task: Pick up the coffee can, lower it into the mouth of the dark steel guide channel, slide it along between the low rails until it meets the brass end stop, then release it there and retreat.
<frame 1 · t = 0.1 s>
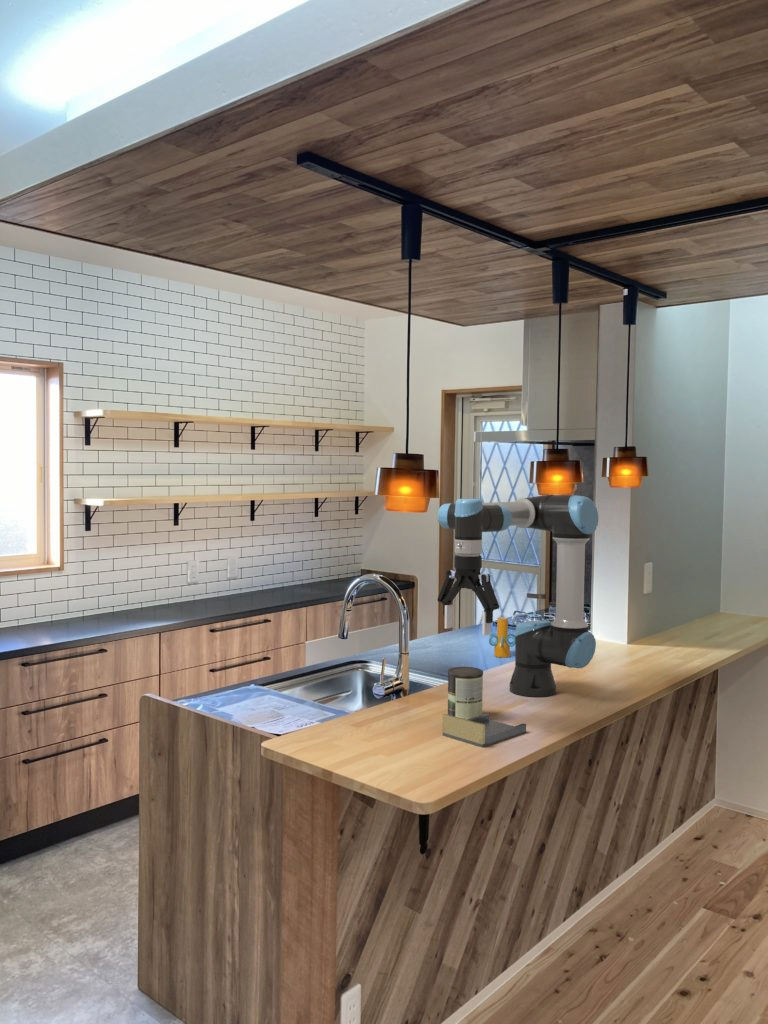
hand: (467, 631, 236), 28 cm above the countertop, fingers open, 13 cm apart
rail channel: (484, 733, 235), on the countertop
coffee can: (464, 718, 250), on the countertop
orange column with rings: (502, 656, 335), on the countertop
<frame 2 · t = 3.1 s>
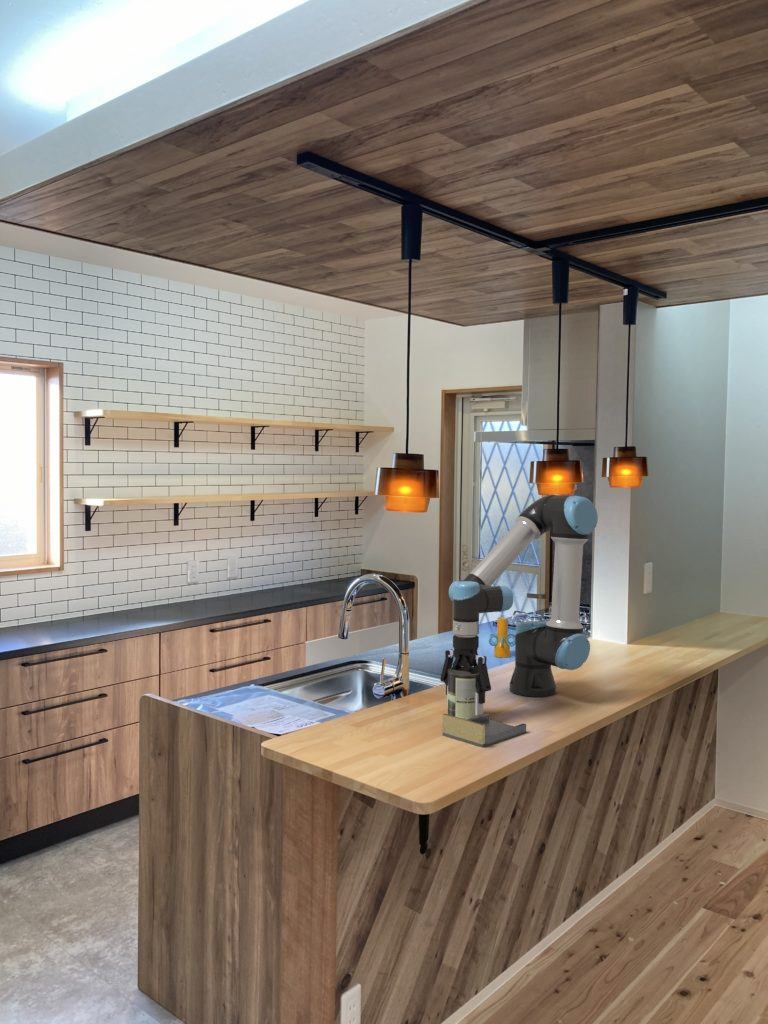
hand: (464, 710, 250), 2 cm above the countertop, fingers closed on coffee can, 10 cm apart
coffee can: (464, 718, 250), on the countertop, touching gripper
everything else where it was.
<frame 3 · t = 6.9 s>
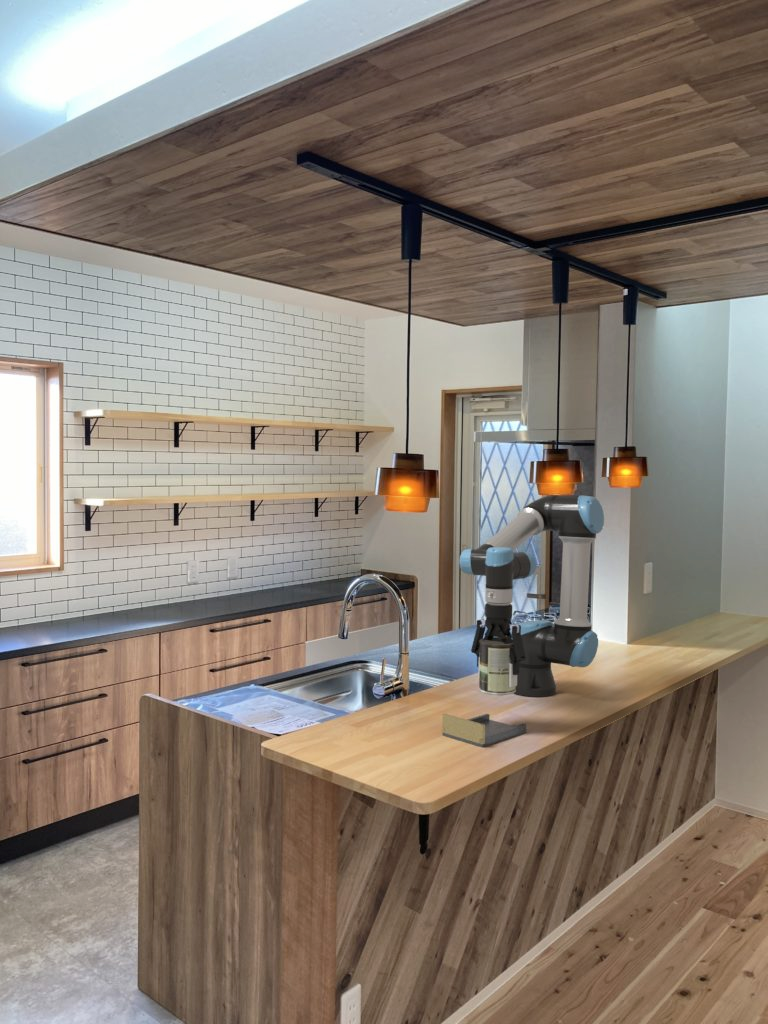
hand: (497, 682, 238), 13 cm above the countertop, fingers closed on coffee can, 10 cm apart
coffee can: (497, 691, 238), point 11 cm above the countertop, touching gripper
everything else where it was.
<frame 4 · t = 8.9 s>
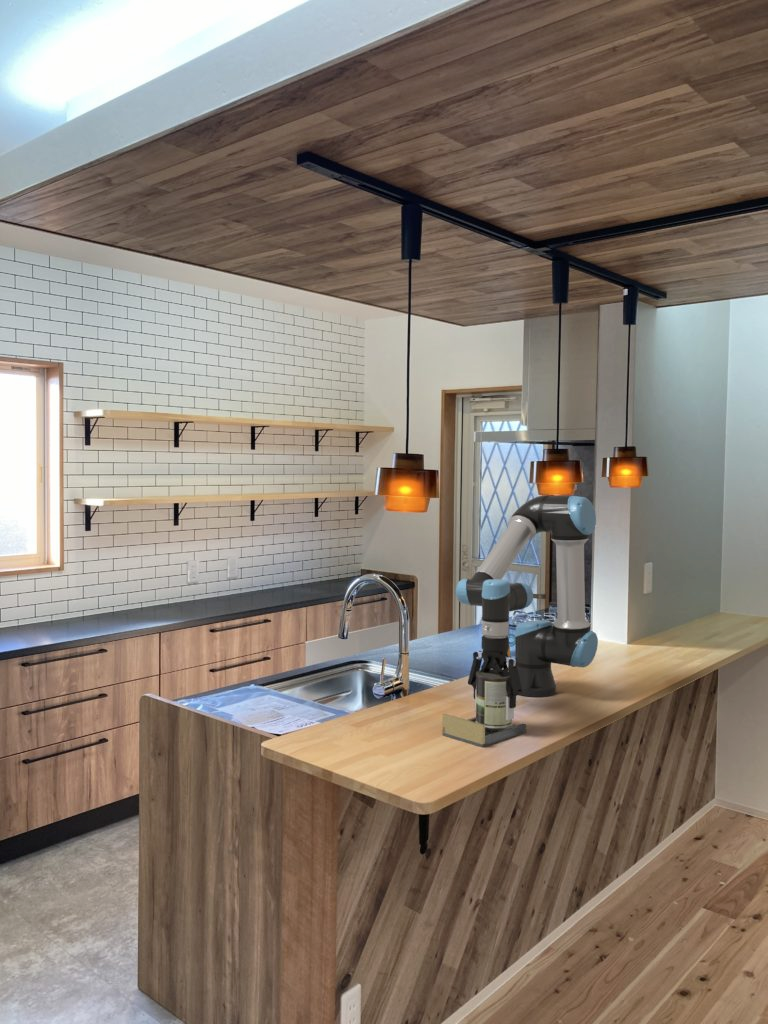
hand: (494, 715, 237), 4 cm above the countertop, fingers closed on coffee can, 10 cm apart
coffee can: (494, 724, 238), point 2 cm above the countertop, touching gripper
everything else where it was.
when the fingers open (4 cm above the countertop, at t = 10.9 s): coffee can drops 1 cm, resting on rail channel.
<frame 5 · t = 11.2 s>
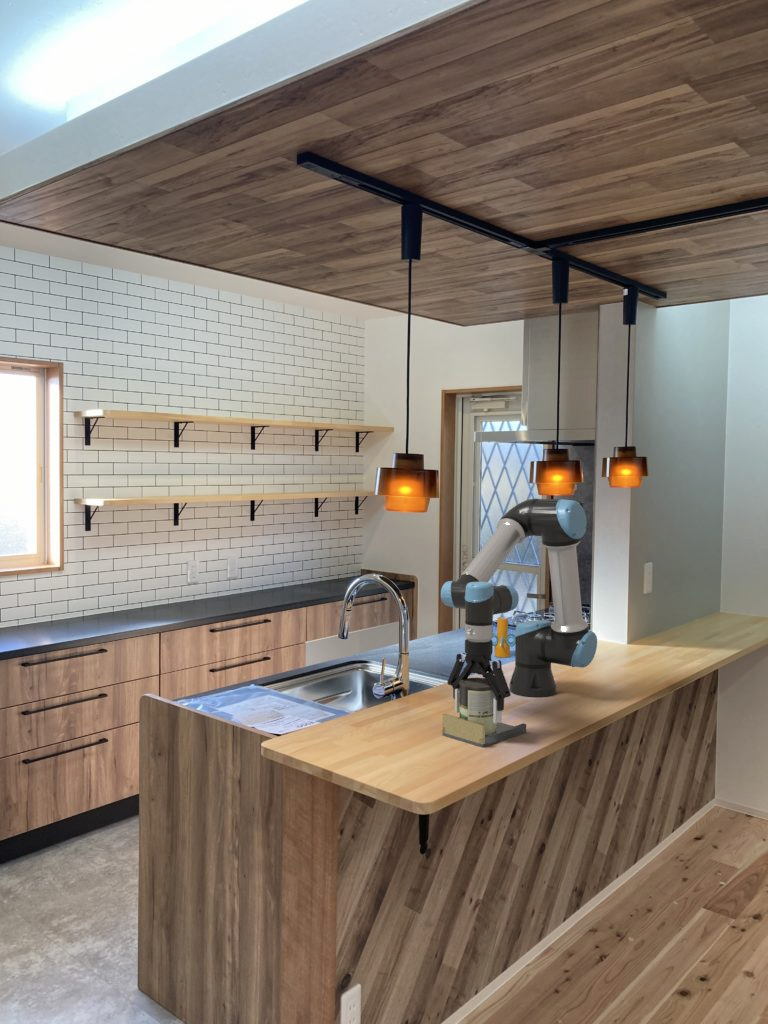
hand: (477, 716, 233), 5 cm above the countertop, fingers open, 13 cm apart
coffee can: (477, 733, 233), point 1 cm above the countertop, touching rail channel
everything else where it was.
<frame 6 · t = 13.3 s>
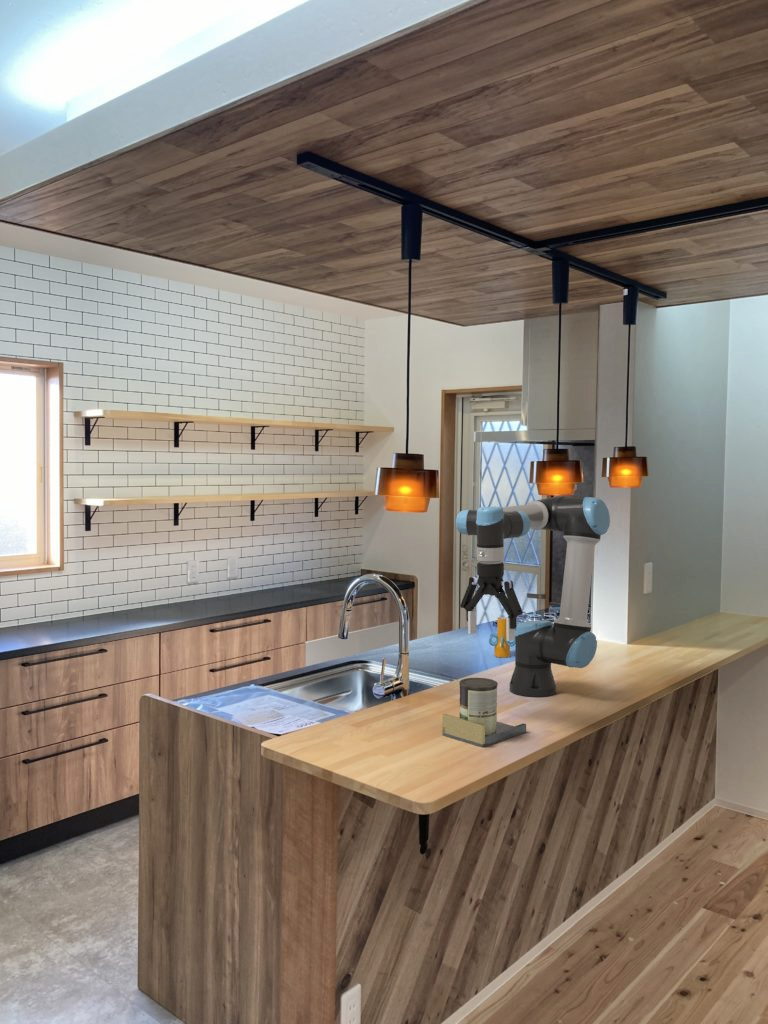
hand: (491, 636, 241), 25 cm above the countertop, fingers open, 13 cm apart
nothing on the countertop moved.
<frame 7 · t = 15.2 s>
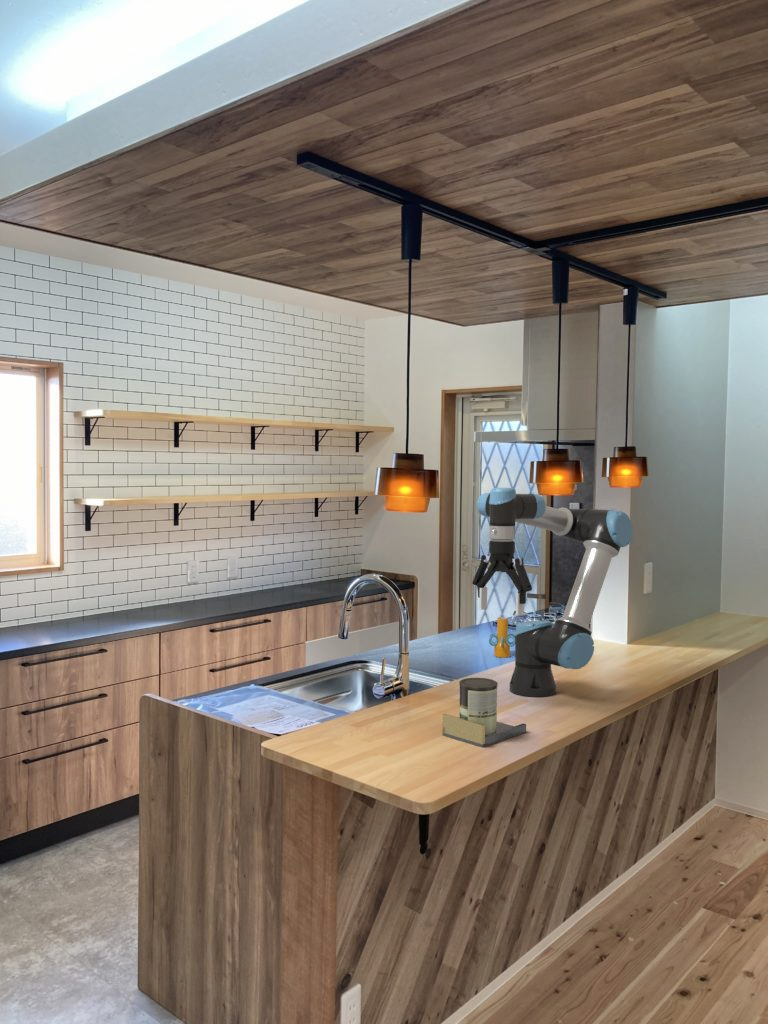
hand: (501, 612, 252), 31 cm above the countertop, fingers open, 13 cm apart
nothing on the countertop moved.
at the end: coffee can inside the target area (0.3 cm from its centre), point 0.6 cm above the countertop; coffee can tilted 0°; the gripper is holding nothing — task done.
